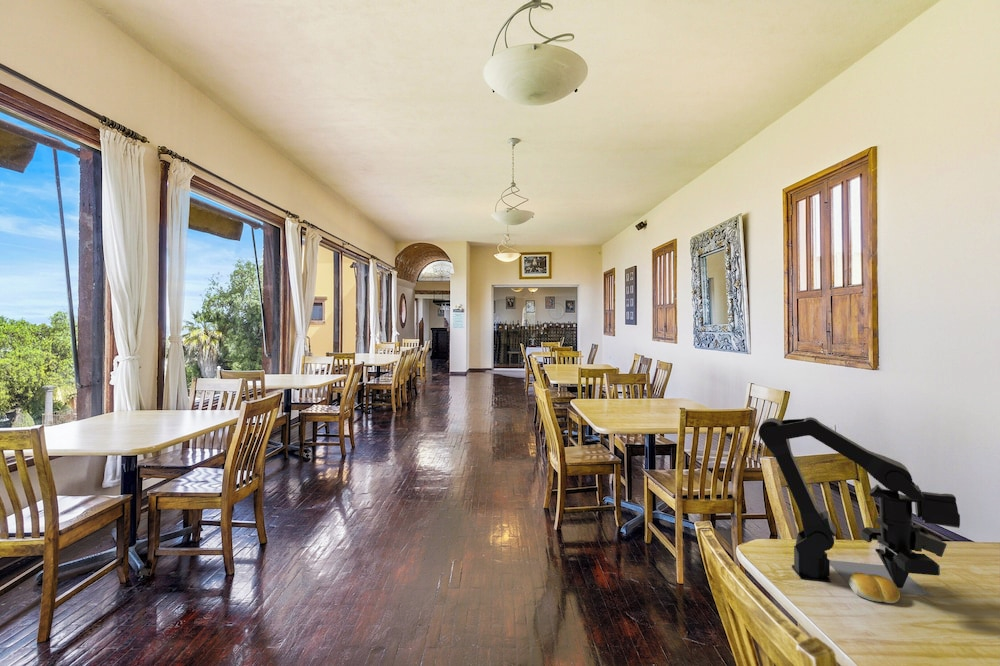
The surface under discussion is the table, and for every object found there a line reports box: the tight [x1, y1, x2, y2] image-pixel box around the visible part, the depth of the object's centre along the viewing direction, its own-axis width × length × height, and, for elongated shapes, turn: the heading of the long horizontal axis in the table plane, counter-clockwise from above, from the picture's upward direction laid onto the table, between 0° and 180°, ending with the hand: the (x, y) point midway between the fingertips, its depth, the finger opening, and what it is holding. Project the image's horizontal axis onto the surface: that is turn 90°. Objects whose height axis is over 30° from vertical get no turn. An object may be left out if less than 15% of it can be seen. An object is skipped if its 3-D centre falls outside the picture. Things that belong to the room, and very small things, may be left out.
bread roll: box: [848, 572, 901, 604], centre depth 106 cm, size 8×9×4 cm
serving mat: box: [829, 559, 934, 598], centre depth 114 cm, size 16×14×1 cm
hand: (899, 587), depth 105 cm, fingers closed, pressing on bread roll
